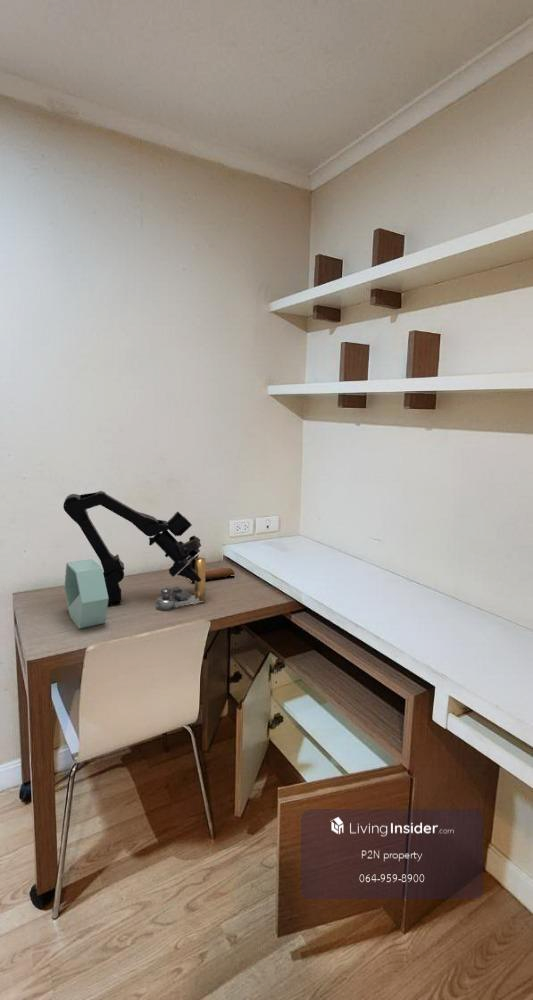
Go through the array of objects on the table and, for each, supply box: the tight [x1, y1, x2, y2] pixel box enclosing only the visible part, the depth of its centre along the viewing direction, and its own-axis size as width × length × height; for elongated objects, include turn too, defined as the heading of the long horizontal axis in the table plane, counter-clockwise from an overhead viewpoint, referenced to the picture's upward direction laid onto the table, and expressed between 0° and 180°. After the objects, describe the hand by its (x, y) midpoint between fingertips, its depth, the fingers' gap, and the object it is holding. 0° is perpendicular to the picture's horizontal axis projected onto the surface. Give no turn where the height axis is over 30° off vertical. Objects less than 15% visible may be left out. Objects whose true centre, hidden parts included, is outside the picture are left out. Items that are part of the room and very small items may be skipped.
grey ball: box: [160, 587, 172, 600], centre depth 168 cm, size 3×3×3 cm
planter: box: [63, 558, 109, 629], centre depth 156 cm, size 17×8×21 cm
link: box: [156, 557, 206, 611], centre depth 170 cm, size 17×6×15 cm, turn 119°
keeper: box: [171, 586, 192, 600], centre depth 173 cm, size 4×8×4 cm, turn 38°
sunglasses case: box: [190, 567, 236, 582], centre depth 199 cm, size 18×7×7 cm
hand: (202, 578), depth 174 cm, fingers open, 5 cm apart
